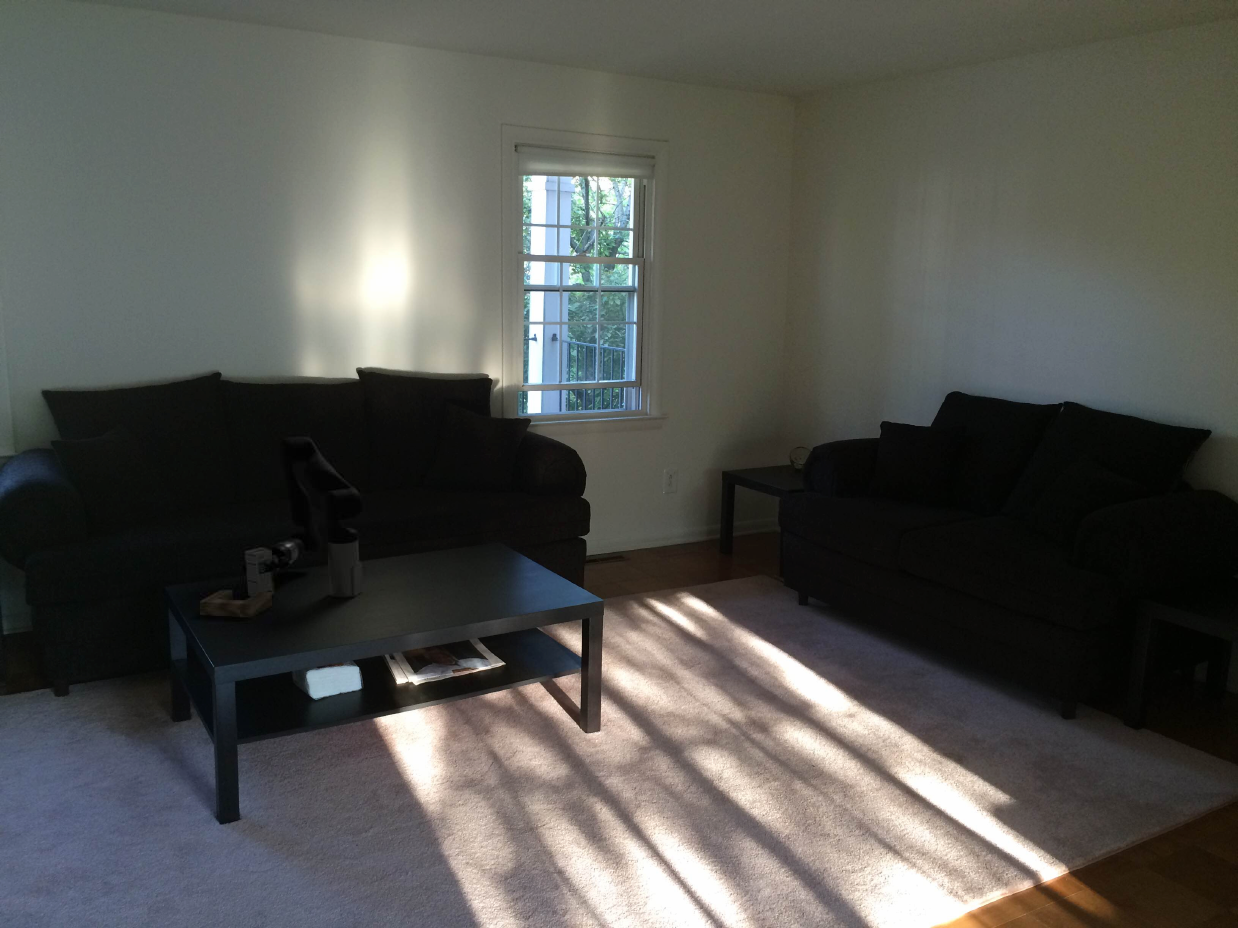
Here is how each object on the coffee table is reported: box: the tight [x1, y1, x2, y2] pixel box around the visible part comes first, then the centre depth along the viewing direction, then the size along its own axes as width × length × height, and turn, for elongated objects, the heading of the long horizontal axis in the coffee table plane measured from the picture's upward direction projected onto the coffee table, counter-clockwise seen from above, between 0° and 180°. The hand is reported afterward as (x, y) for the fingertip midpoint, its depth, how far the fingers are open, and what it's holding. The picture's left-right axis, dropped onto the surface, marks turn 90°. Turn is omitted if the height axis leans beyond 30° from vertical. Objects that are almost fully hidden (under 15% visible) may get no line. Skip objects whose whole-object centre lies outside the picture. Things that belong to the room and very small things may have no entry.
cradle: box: [199, 589, 273, 619], centre depth 293 cm, size 16×12×4 cm
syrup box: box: [244, 547, 276, 597], centre depth 306 cm, size 6×6×14 cm
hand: (256, 568), depth 304 cm, fingers closed on syrup box, 7 cm apart
